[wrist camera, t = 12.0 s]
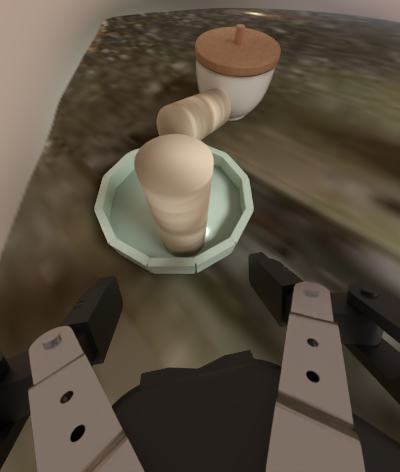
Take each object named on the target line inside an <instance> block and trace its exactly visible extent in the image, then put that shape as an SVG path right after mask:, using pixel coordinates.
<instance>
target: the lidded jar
mask: <svg viewBox="0 0 400 472" xmlns="http://www.w3.org/2000/svg"><path fill="white" fill-rule="evenodd" d="M280 53H281V50H280V46H279V44H278V43H277V42H276V41H275V40H274V39H273V38H271V37H270V36H268V35H266V34H265V33H262V32H259V31H256V30H252V29H248V28H245V25H243V24H238V25H237V26H236V27H224V28H217V29H213V30H210V31H207V32H205V33H203V34H202V35H201V36H199V37H198V39H197V40H196V43H195V56H196V76H197V84H198V89H199V93H202V92H205V91H207V90H210V89H213V88H217V89H221V90H223V91H224V92H225V93H226V94H227V95H228V97H229V100H230V103H231V113H230V117H229V119H228V121H235V120H239V119H241V118H243V117H244V116H245V115H246V114H247V113H249V112H250V111H252V110H253V109H254V108H255V107H256V106H257V105H258V104H259V102H260V101H261V100H262V98H263V96H264V95H265V93H266V91H267V89H268V86H269V84H270V82H271V79H272V76H273V73H274V70H275V66H276V65H277V63H278V60H279V57H280Z"/></svg>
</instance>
